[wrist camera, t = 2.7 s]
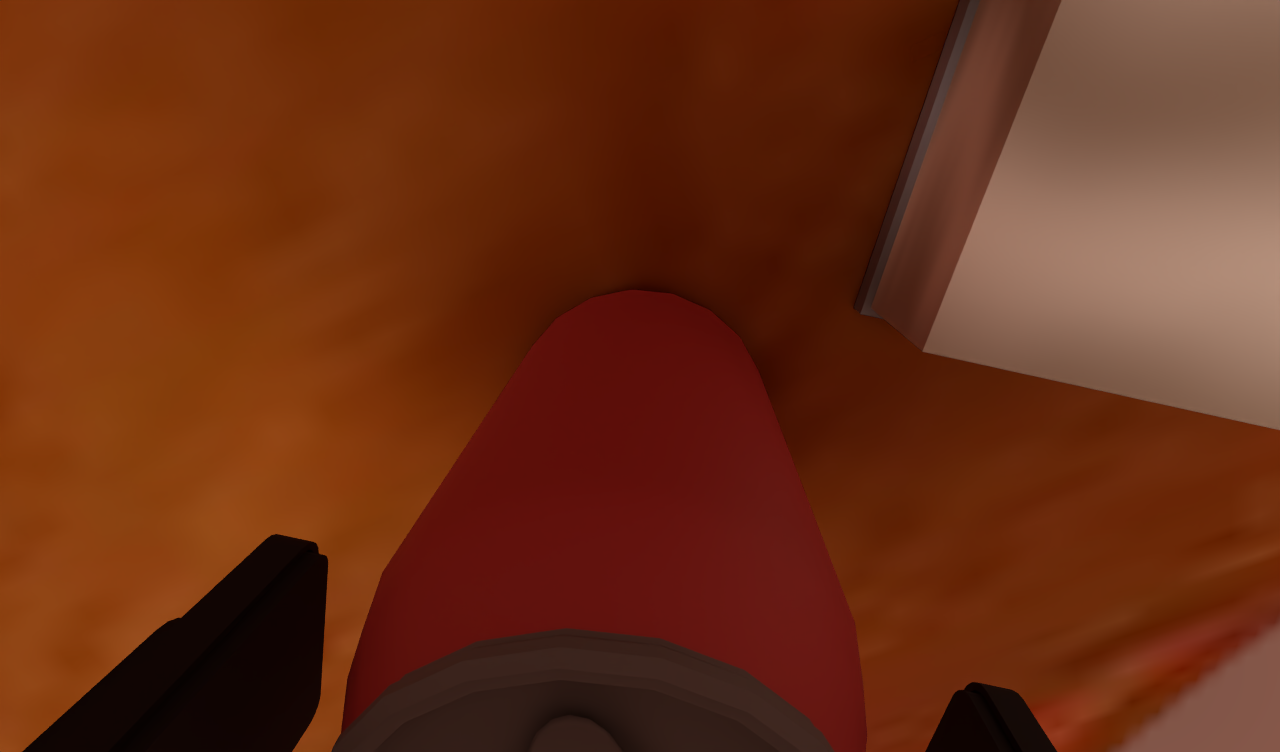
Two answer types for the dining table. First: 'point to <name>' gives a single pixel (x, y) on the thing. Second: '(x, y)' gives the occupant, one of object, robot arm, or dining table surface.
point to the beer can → (615, 564)
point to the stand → (1098, 201)
